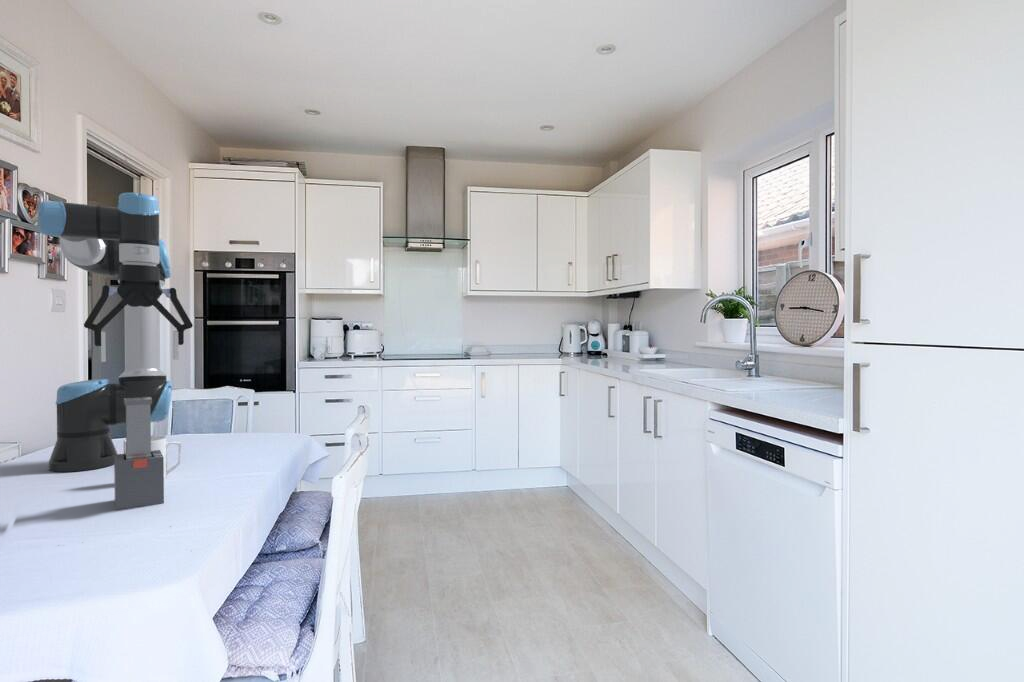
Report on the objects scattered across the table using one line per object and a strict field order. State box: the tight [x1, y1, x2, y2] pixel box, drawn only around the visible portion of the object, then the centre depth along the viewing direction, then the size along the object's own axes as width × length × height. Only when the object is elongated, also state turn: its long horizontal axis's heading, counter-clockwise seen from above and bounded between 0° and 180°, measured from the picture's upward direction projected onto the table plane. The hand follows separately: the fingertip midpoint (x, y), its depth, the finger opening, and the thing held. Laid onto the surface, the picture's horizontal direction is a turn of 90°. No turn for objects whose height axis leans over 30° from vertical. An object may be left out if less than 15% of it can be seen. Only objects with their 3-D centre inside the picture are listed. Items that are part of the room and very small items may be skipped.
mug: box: [123, 434, 182, 480], centre depth 141 cm, size 12×9×11 cm
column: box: [124, 397, 152, 460], centre depth 122 cm, size 5×5×22 cm
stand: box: [113, 450, 165, 512], centre depth 122 cm, size 12×16×11 cm
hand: (140, 360), depth 129 cm, fingers open, 13 cm apart
